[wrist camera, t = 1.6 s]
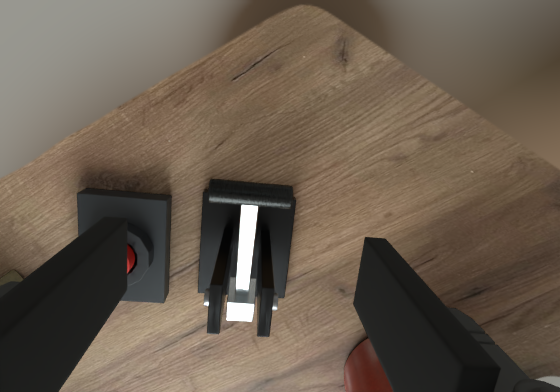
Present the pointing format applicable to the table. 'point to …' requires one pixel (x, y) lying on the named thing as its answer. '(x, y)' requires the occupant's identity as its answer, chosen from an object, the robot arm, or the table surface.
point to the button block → (135, 236)
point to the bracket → (223, 258)
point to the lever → (246, 235)
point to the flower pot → (365, 371)
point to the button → (130, 258)
